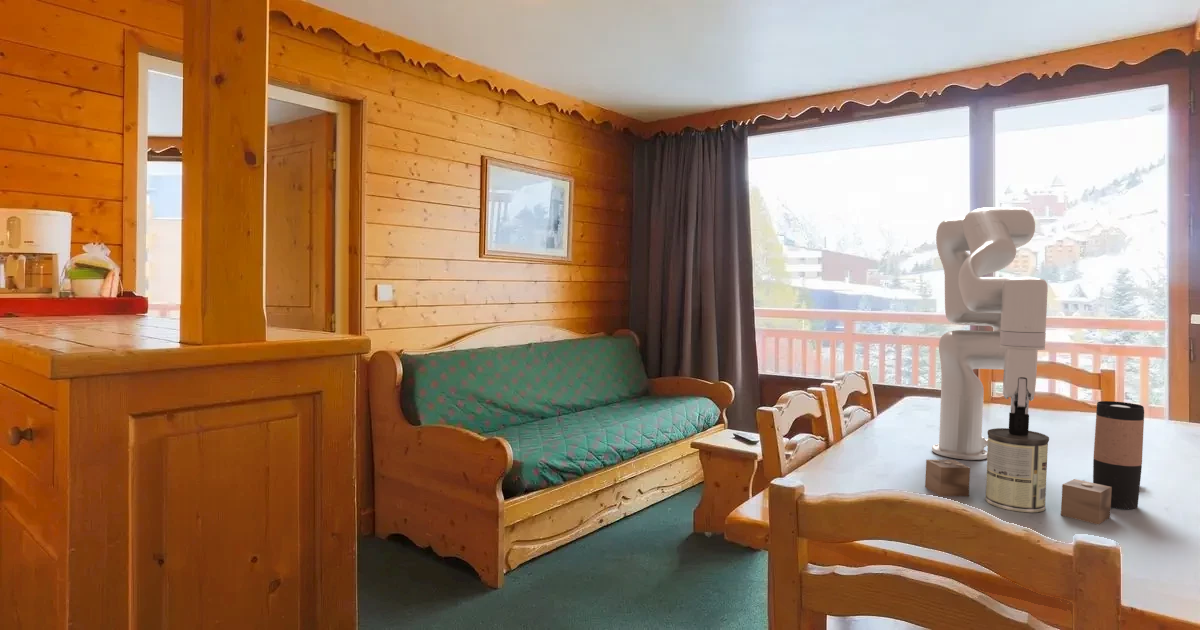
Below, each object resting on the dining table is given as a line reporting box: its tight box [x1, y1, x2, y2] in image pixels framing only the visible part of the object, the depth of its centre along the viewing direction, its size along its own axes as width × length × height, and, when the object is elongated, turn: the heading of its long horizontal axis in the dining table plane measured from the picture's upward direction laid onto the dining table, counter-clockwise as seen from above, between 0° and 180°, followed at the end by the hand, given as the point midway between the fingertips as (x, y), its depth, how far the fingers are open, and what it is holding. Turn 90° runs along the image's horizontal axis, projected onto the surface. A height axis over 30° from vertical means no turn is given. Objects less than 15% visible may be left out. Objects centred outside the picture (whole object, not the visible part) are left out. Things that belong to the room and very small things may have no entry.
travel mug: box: [1092, 400, 1145, 511], centre depth 134 cm, size 8×8×20 cm
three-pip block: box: [924, 459, 971, 497], centre depth 141 cm, size 6×6×6 cm
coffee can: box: [984, 427, 1050, 513], centre depth 133 cm, size 10×10×14 cm
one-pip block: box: [1060, 478, 1112, 526], centre depth 127 cm, size 6×6×6 cm
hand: (1018, 433), depth 132 cm, fingers closed
